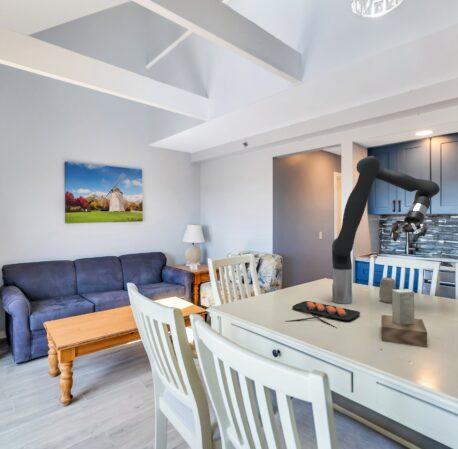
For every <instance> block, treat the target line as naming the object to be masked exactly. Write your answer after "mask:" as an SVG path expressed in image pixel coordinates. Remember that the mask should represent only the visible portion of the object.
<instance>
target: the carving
mask: <svg viewBox="0 0 458 449" xmlns="http://www.w3.org/2000/svg"><path fill="white" fill-rule="evenodd" d="M396 287H397V286H396V281H395V279H394V278H392V277H382V278H381V279H380V283H379V294H378V295H379V299H380V300H381V301H382V302H384V303H389V304H392V290H396Z"/></svg>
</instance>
